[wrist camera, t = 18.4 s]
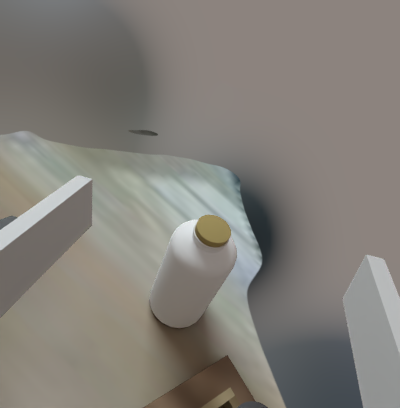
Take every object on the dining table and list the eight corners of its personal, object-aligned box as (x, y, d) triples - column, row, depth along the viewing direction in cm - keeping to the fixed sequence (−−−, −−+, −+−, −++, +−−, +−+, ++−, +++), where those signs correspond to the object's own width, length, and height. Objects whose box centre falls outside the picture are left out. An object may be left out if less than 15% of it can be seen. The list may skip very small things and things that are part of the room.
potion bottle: (172, 342, 46) (214, 273, 34) (136, 296, 49) (162, 217, 37) (213, 309, 51) (262, 238, 39) (178, 269, 54) (213, 192, 42)
